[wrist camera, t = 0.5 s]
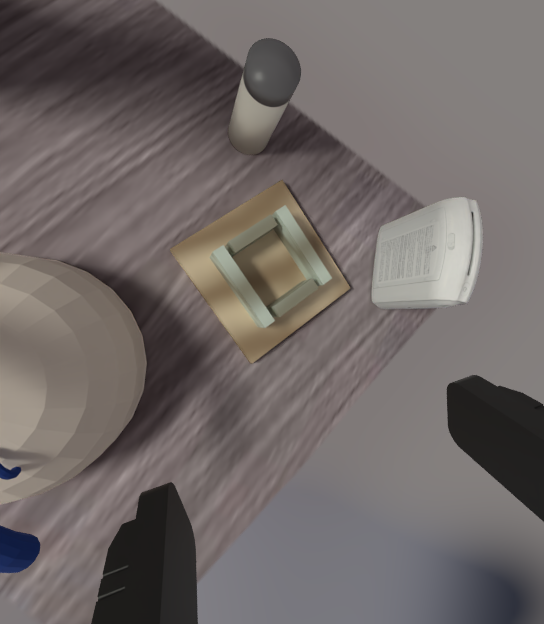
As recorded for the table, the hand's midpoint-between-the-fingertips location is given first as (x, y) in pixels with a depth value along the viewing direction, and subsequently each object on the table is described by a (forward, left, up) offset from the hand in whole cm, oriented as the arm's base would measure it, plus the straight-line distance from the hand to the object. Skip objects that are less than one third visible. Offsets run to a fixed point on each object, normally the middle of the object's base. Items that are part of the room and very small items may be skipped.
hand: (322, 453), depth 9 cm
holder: (-4, +9, -26) cm, 28 cm away
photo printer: (+4, +22, -26) cm, 35 cm away
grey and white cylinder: (-17, +16, -26) cm, 35 cm away
